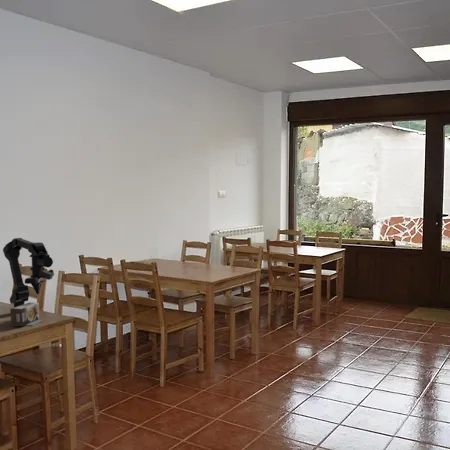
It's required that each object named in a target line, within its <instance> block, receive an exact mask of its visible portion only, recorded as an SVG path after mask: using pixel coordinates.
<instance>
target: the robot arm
mask: <svg viewBox="0 0 450 450" xmlns="http://www.w3.org/2000/svg"><path fill="white" fill-rule="evenodd" d="M45 246H46V245H44V243H43V242H40V241H39V242H33V241H30V240H27V239H24V238H23V237H22V238H21V237H17V238H16V237H15V238H13V239H12V240H11V241H10V242H7V243H6V244H5V245H4V247H3V248H2V252H3V255H4V257H5V259H7V260H8V263H9V266H10V267H9V268H10V272H11V276H12V277H11V278H12V282H13V286H12V287H13V288H12V292H11V293H12V294H11V296H10V298H9V302H10V303H11V304H13V308H15V307H17V306H20V305H23V304H26V302H28V301H29V298H30V297H29V296H30V290H29V286H28V284H30V285H31V286H32V288H33V290H34V292H35V294H37V295H39V294H40V292H41V288H42V285H43V283H45V282H46V280H48V281H50V280H52V279H53V277H54V276H55V273H54V271H55V270H54V269H49V270H47V269H46V268H50V267H52V266H53V264H54V260H53V258H52V257H50V254H49V253H48V250H47V248H46V247H45ZM22 249H26V250H27V251H28V252H29V253H30V255H29V258H31V267H30V269H29V270H30V271H31V275H30V276H29V277H27V278H25V279H24V281H23V276H22V271H21V267H20V263H19V258H20V255H21V252H20V251H21V250H22ZM44 279H46V280H44ZM25 284H26V285H25Z"/></svg>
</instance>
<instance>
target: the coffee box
mask: <svg viewBox="0 0 450 450" xmlns="http://www.w3.org/2000/svg"><path fill="white" fill-rule="evenodd" d="M9 314H10V326H12V327H23V325H26V324H28V323H31V322H33V321H35V320H40V304H39V302H33V301H30V302H27V303H26V302H25V304H23V305H20V306H17V307H15V308H14V307H12V308H10V313H9Z"/></svg>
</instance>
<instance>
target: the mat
mask: <svg viewBox="0 0 450 450" xmlns="http://www.w3.org/2000/svg"><path fill="white" fill-rule="evenodd" d="M42 321H43V319H38V320H35V321H33V322H31V323H28V324H26V325H23V326H24V327H33V326H36V325H37V324H38V323H39V324H40V323H41V322H42ZM23 326H22V327H23Z"/></svg>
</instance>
